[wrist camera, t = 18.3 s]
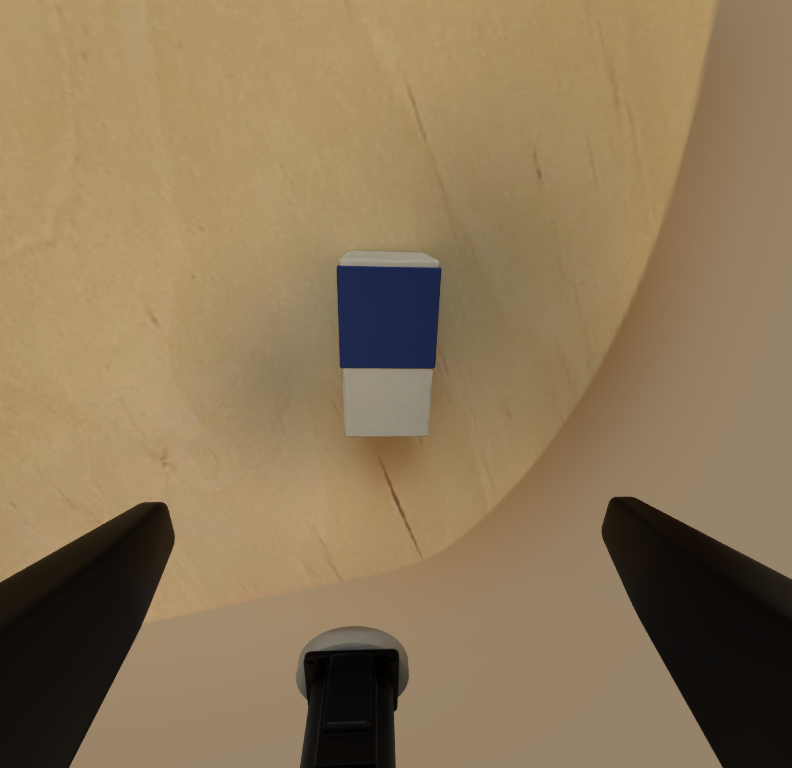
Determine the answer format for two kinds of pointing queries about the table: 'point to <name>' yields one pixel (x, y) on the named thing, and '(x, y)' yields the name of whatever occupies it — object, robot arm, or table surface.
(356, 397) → the eraser
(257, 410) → the table surface
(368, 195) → the table surface
